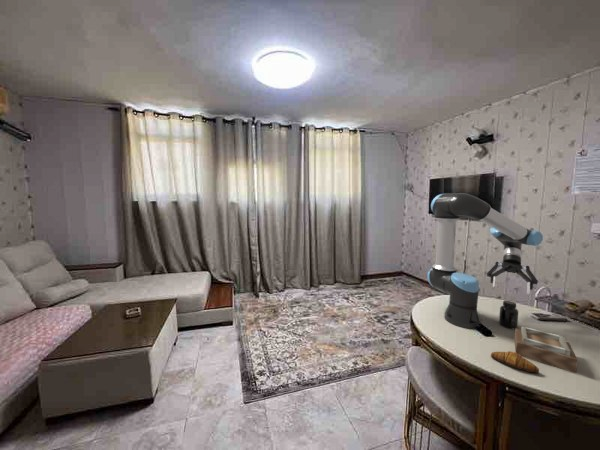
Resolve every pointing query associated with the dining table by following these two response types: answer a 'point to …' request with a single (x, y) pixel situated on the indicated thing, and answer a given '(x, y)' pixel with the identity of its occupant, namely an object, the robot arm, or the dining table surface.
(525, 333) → the walnut tray
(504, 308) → the supplement bottle
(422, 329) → the dining table surface
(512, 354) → the croissant
